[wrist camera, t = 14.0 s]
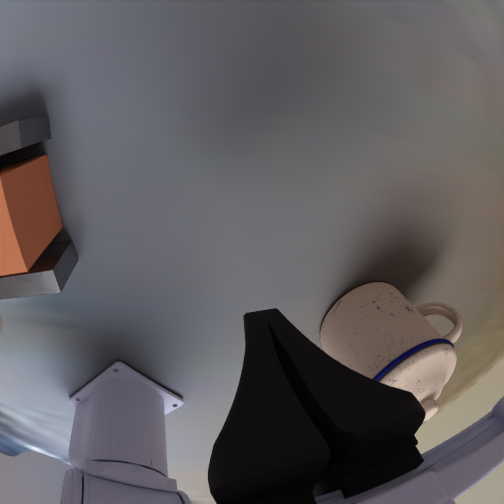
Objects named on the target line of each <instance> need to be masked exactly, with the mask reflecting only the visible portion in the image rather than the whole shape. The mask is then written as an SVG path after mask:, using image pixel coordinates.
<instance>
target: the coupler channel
mask: <svg viewBox="0 0 504 504" xmlns="http://www.w3.org/2000/svg"><path fill="white" fill-rule="evenodd" d="M50 138H51V135H50V127H49V119H48V115H47V116H40V117H34V118H28V119H22V120H17V121H14V122H12V123H9V124H6V125H4V126H1V127H0V155H3V154H6V153H9V152H12V151H15V150H18V149H21V148H24V147H26V146H29V145H32V144H35V143H38V142H41V141H44V140H47V139H50ZM77 262H78V258H77V255H76V251H75V248H74V244H73V241H68V242H62V243H57V244H51V245H48V246H47V247H46V248H45V250H44V251H43V252H42V253H41V255H40V256H39V257H38V259H37V260H36V261H35V263H34V264H33V265H32V267H31V268H30V269H29V271H28V272H22V273H15V274H9V275H2V276H0V299H8V298H17V297H26V296H35V295H44V294H53V293H61V291H62V289H63V288H64V286H65V284H66V282H67V280H68V278H69V276H70V274H71V273H72V271H73V269H74V267H75V265H76V264H77Z"/></svg>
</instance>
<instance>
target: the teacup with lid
mask: <svg viewBox="0 0 504 504" xmlns="http://www.w3.org/2000/svg"><path fill="white" fill-rule="evenodd" d="M432 314H435V315H441V316H444V317H446V318H448V319H449V320H450V321H452V323H453V324H454V326H455V327H454V329H453V330H452V331H451V332H450V333H448V334H447V335H445V336H444V337H442V336H441V335H440V334H439V333H438V332H437V331H436V330H435V329H434V327H433V326H432V325H431V324H430V323H429V322H428V321H427V320H426V319H425V318H424V316H427V315H432ZM462 325H463V322H462V318H461V316H460V314H459V313H458V312H457V311H456V310H455V309H454V308H452V307H450V306H448V305H446V304H442V303H436V302H433V303H427V304H424V305H421V306H419V307H417V308H415V307H414V306H413V305H412V304H411V303H410V302H409V301H408V300H407V299H406V298H405V297H404V296H403V295H402V294H401V293H400V292H399V291H398V290H397V289H396V288H395V287H394V286H392V285H390V284H387V283H383V282H374V283H368V284H365V285H362V286H359V287H357V288H355V289H353V290H352V291H350V292H348V293H347V294H346V295H344V296H343V297H342V298H341V299H339V300H338V301H337V302H336V303H335V304H334V306H333V307H332V308H331V309H330V311H329V312H328V314H327V315H326V317H325V319H324V321H323V324H322V327H321V332H320V339H321V344H322V346H323V348H324V350H325V352H326V353H327V354H328V355H329V356H331V357H332V358H334V359H335V360H337V361H339V362H340V363H342V364H343V365H345V366H347V367H348V368H350V369H352V370H354V371H356V372H358V373H360V374H362V375H364V376H366V377H369V378H371V379H373V380H376V381H378V382H381V383H383V384H386V385H389V386H392V387H395V388H399V389H402V390H406V391H409V392H412V393H413V395H414V396H415V397H416V398H417V399H418V401H419V402H420V404H421V405H422V407H423V408H424V410H425V411H426V416H425V419H424V421H426V420H428V419H429V418H431V417H432V416H433V415H434V414H435V413H436V412H437V410H438V403H437V401H436V399H437V398H438V396H439V395H440V393H441V391H442V389H443V387H444V385H445V384H446V383H447V381H448V380H449V378H450V377H451V375H452V373H453V371H454V368H455V365H456V360H457V356H456V351H455V348H454V345H453V343H454V342H455V341H456V340H457V339H458V338H459V336H460V334H461V331H462ZM424 421H423V422H424Z"/></svg>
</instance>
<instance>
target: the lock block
mask: <svg viewBox="0 0 504 504" xmlns="http://www.w3.org/2000/svg"><path fill="white" fill-rule="evenodd" d="M62 228H63V226H62V223H61V219H60V215H59V211H58V207H57V202H56V198H55V193H54V189H53V184H52V179H51V174H50V169H49V163H48V157H47V155H43V156H40V157H36V158H33V159H30V160H26V161H23V162H20V163H17V164H13V165H10V166H7V167H4V168H1V169H0V276H2V275H9V274H15V273H22V272H28V271H29V269H30V268H31V267H32V265H33V264H34V263H35V261H36V260H37V259H38V257H39V256H40V255H41V253H42V252H43V251H44V250H45V248H46V247H47V246H48V245H49V243H50V242H51V241H52V240H53V238H54V237H55V236H56V235H57V234H58V232H59V231H60V230H61V229H62Z"/></svg>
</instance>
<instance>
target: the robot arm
mask: <svg viewBox="0 0 504 504" xmlns="http://www.w3.org/2000/svg"><path fill="white" fill-rule="evenodd" d="M243 318H244V331H245V343H246V346H245V355H244V362H243V368H242V373H241V377H240V381H239V385H238V389H237V392H236V395H235V398H234V401H233V404H232V407H231V409H230V412H229V414H228V416H227V419H226V421H225V424H224V426H223V428H222V430H221V432H220V434H219V436H218V438H217V440H216V441H215V443H214V445H213V450H212V454H211V458H210V463H209V469H208V482H209V488H210V493H211V495H212V496H213V498H214V500H215V502H216V503H217V504H456V503H455V501H454V499H455V498H456V497H458V496H459V495H461V494H462V493H463V492H465V491H466V490H468V489H469V488H470V487H472V486H473V485H474V484H476V483H477V482H479V481H480V480H481V479H482V478H484V477H485V476H486V475H488V474H489V473H490V472H491V471H492V470H494V469H495V468H496V467H497V466H499V465H500V464H501V463H502V462H503V461H504V397H503V398H502V399H500V400H499V401H498V402H497V404H496V405H495V406H494V408H493V409H492V411H491V412H489V413H488V414H487V415H485V416H484V417H482V418H481V419H479V420H478V421H477V422H475V423H474V424H472V425H471V426H469V427H468V428H466V429H465V430H463V431H461V432H460V433H458V434H457V435H455V436H453V437H452V438H450V439H449V440H447V441H445V442H443V443H442V444H440V445H438V446H436V447H434V448H433V449H431V450H429V451H427V452H425V453H423V454H420V453H419V451H418V449H417V448H416V445H417V444H418V441H417V439H416V438H415V436H414V434H415V433H416V432H417V430H418V429H419V427H420V426H421V424H422V423H423V421H424V419H425V416H426V411H425V410H424V408H423V407H422V405H421V404H420V402H419V401H418V399H417V398H416V397H415V396H414V395H413V393H412V392H409V391H406V390H402V389H399V388H395V387H392V386H389V385H386V384H383V383H381V382H378V381H376V380H373V379H371V378H369V377H366V376H364V375H362V374H360V373H358V372H356V371H354V370H352V369H350V368H348V367H347V366H345V365H343V364H342V363H340V362H339V361H337V360H335V359H334V358H332V357H331V356H329V355H328V354H327V353H325V352H324V351H323V350H321V349H320V348H319V347H317V346H316V345H315V344H314V343H312V342H311V341H310V340H309V339H308V338H307V337H306V336H304V335H303V334H302V333H301V332H300V331H299V330H298V329H297V328H296V327H295V326H294V325H293V324H292V323H291V322H290V321H289V320H288V319H287V318H286V317H285V316H284V315H283V314H282V313H281V312H280V311H279V310H278V309H276V308H274V309H268V310H262V311H256V312H250V313H246V314H245V315H244V316H243ZM116 369H117V370H116ZM69 403H70V404H71V405H73V406H74V407H76V411H75V416H74V421H73V427H72V433H71V439H70V446H69V459H70V463H71V465H72V468H71V469H69V470H67V471H66V472H65V476H64V480H63V486H62V493H61V503H60V504H193V503H192V502H191V500H190V499H189V497H188V496H187V495H186V494H185V493H184V492H183V491H180V490H177V483H176V480H175V479H170V478H168V468H167V453H166V434H165V415H166V414H168V413H170V412H171V411H173V410H175V409H177V408H178V407H180V406H182V405H183V404H184V401H183V399H182V398H180V397H178V396H176V395H175V394H173V393H171V392H169V391H168V390H166V389H164V388H162V387H161V386H159V385H157V384H156V383H154V382H152V381H151V380H149V379H147V378H146V377H144V376H143V375H141V374H139V373H138V372H136V371H135V370H133V369H132V368H130V367H128V366H127V365H125V364H124V363H122V362H115V363H114V364H113V365H112V366H110V367H109V368H108V369H106V370H105V371H104V372H103V373H101V374H100V375H99V376H98V377H96V378H95V379H94V380H92V381H91V382H90V383H89V384H87V385H86V386H85V387H84V388H82V389H81V390H80V391H79V392H77V393H76V394H75V395H73V396H72V397H71V398H70V399H69Z"/></svg>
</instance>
